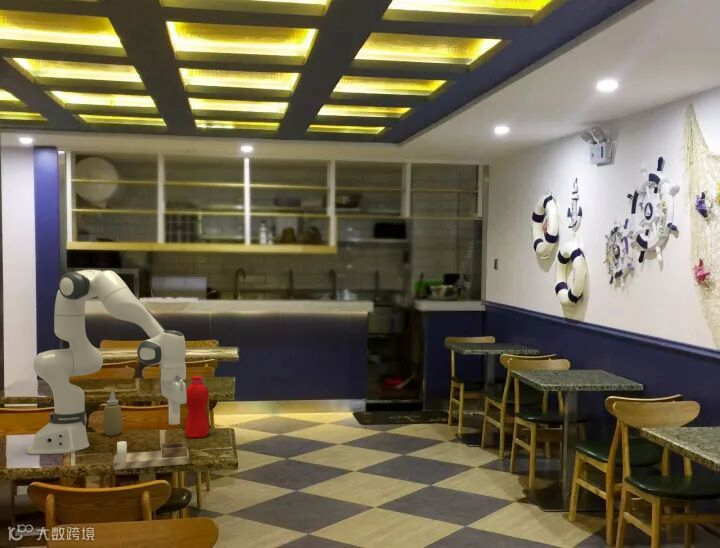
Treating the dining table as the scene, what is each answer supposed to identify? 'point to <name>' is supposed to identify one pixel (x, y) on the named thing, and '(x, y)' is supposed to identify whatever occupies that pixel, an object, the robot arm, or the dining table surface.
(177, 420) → the loose leg
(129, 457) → the wooden board with socket
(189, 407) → the water bottle
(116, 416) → the squeeze bottle
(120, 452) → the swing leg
